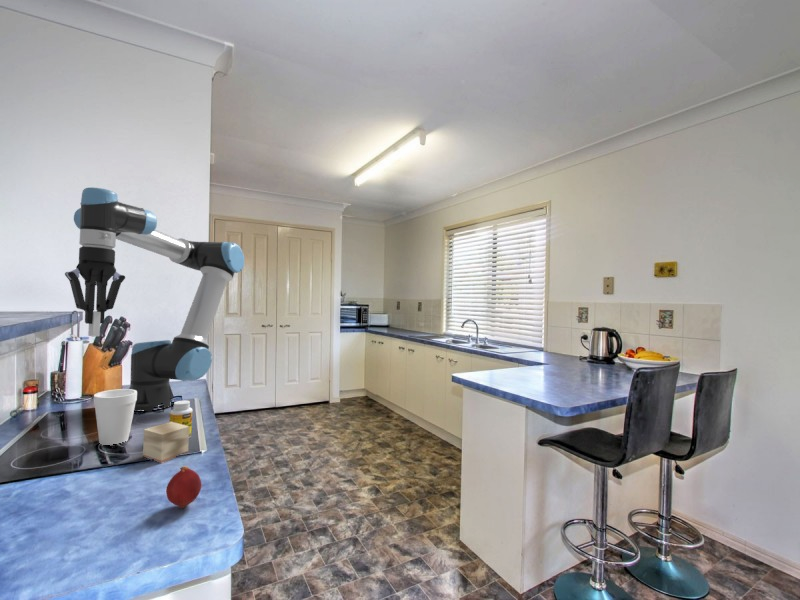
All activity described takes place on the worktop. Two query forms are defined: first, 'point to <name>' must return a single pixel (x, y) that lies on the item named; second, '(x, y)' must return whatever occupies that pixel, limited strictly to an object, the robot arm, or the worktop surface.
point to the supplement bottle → (182, 414)
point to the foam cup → (114, 414)
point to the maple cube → (165, 441)
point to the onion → (183, 487)
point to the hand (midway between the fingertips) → (93, 335)
